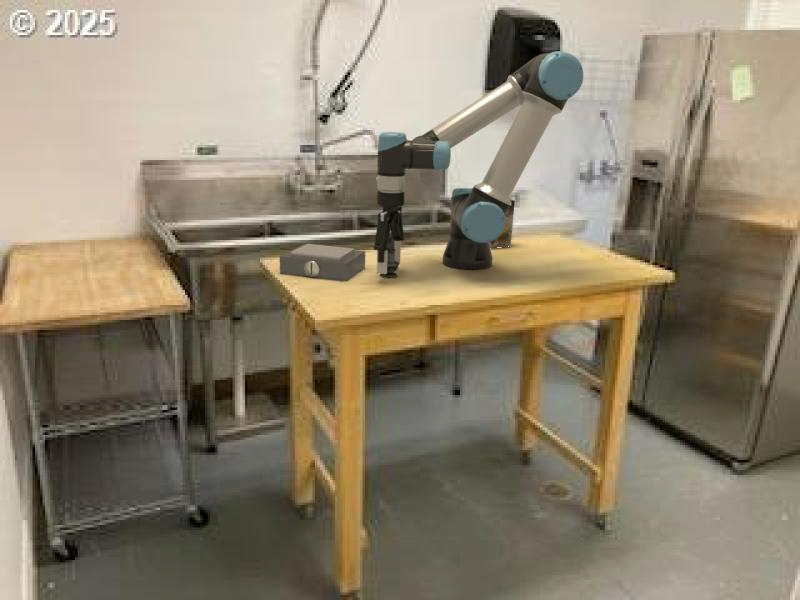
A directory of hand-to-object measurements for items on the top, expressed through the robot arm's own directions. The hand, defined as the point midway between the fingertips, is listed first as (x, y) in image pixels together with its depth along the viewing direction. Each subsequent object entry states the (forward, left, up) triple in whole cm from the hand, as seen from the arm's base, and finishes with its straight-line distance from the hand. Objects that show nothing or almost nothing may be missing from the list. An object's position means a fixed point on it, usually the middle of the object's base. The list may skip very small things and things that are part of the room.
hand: (388, 268), depth 189 cm
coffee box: (-22, -48, -2) cm, 53 cm away
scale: (+19, +2, -2) cm, 19 cm away
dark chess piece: (0, 0, -2) cm, 2 cm away
